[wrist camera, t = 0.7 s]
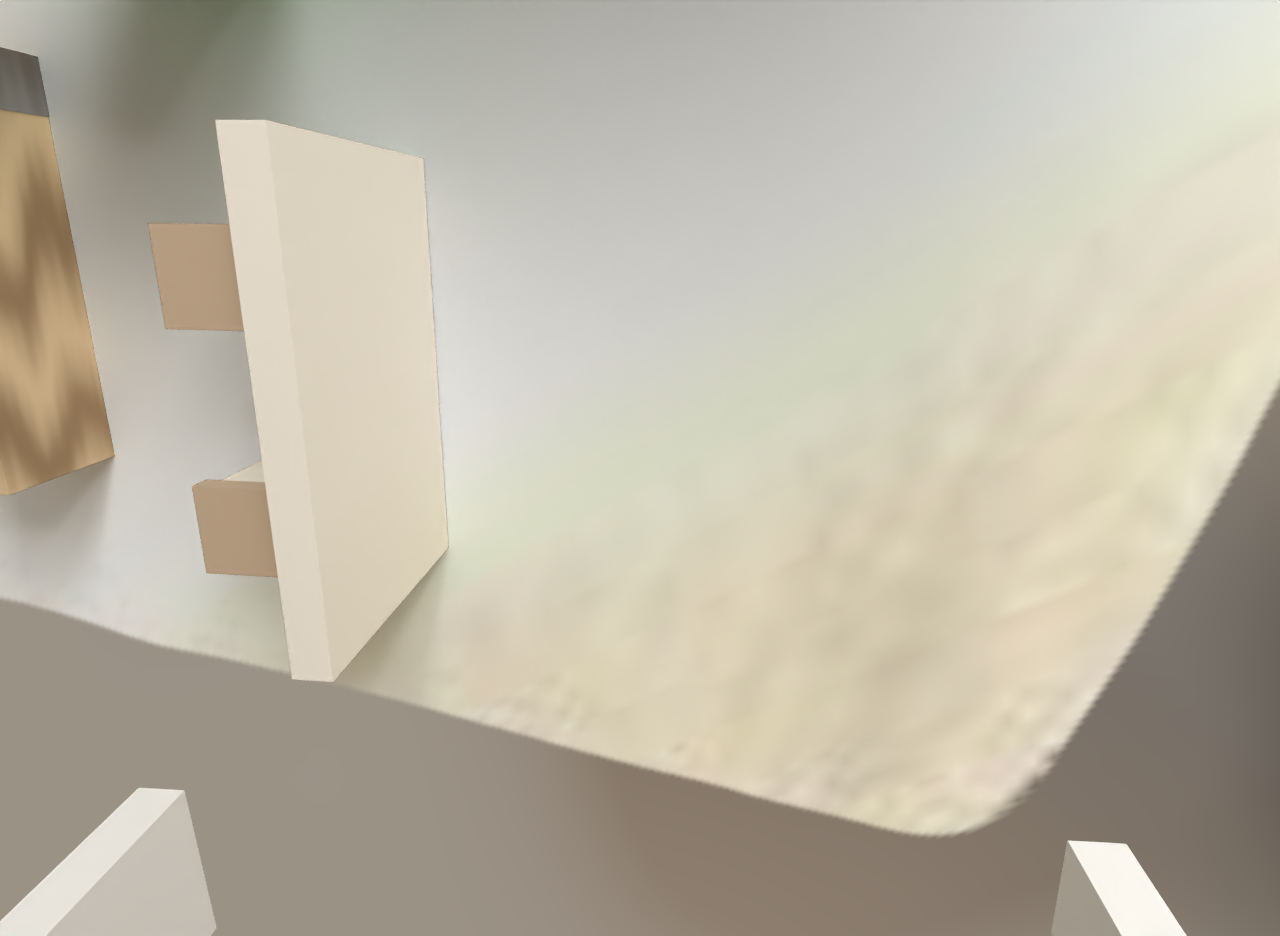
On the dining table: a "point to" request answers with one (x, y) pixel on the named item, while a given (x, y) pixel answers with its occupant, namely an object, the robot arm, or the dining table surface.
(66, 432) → the block
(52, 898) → the robot arm
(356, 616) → the headboard
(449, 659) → the dining table surface
